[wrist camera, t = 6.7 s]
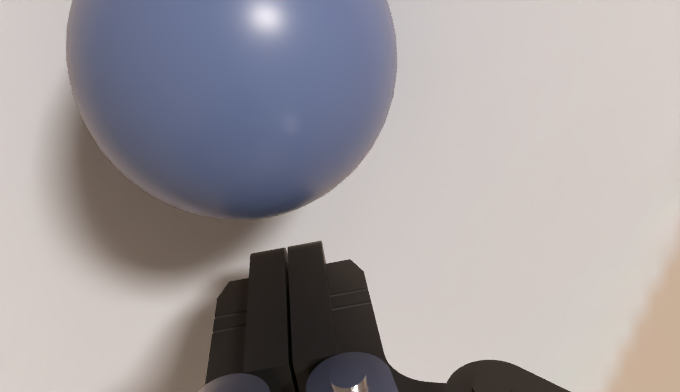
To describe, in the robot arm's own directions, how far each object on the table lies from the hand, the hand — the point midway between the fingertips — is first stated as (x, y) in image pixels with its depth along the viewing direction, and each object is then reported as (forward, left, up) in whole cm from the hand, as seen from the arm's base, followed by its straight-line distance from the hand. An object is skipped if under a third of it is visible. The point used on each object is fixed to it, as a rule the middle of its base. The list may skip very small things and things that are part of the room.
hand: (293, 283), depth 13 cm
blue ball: (-5, 0, +1) cm, 5 cm away
